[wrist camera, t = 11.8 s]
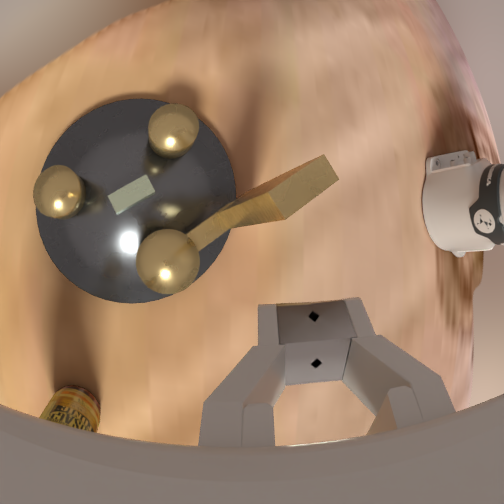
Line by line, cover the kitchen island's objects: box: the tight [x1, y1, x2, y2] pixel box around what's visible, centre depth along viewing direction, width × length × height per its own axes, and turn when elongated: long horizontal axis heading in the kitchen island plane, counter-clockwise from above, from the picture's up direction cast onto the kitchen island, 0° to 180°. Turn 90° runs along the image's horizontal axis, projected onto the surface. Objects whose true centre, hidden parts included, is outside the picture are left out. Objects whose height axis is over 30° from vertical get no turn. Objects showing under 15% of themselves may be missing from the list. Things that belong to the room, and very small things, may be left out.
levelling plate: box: [33, 99, 236, 303], centre depth 29 cm, size 22×22×4 cm
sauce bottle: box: [39, 385, 100, 433], centre depth 19 cm, size 6×6×20 cm
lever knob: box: [136, 154, 339, 294], centre depth 24 cm, size 14×6×16 cm, turn 125°
